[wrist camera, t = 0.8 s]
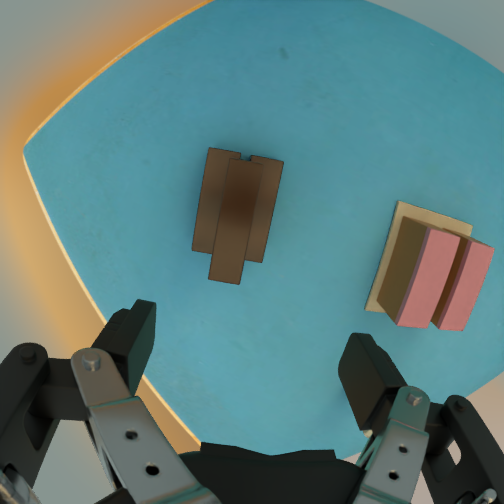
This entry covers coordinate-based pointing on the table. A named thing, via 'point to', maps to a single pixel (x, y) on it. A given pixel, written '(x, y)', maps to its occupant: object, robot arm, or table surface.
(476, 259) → the pink slotted holder
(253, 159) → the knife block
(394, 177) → the table surface
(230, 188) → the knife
